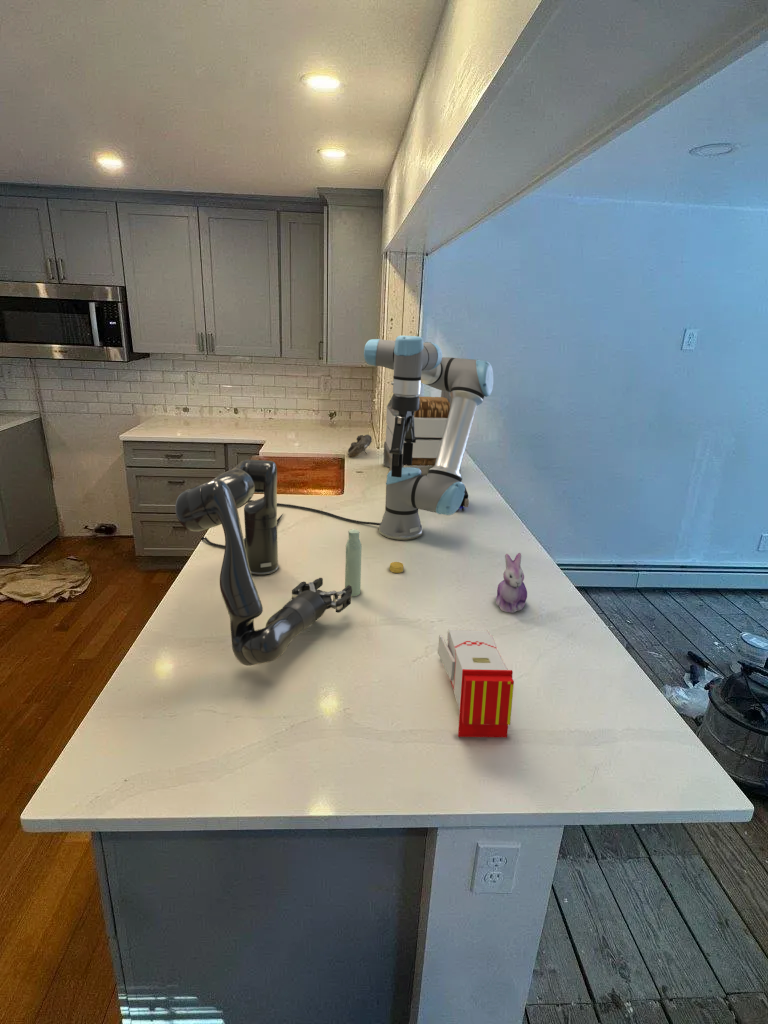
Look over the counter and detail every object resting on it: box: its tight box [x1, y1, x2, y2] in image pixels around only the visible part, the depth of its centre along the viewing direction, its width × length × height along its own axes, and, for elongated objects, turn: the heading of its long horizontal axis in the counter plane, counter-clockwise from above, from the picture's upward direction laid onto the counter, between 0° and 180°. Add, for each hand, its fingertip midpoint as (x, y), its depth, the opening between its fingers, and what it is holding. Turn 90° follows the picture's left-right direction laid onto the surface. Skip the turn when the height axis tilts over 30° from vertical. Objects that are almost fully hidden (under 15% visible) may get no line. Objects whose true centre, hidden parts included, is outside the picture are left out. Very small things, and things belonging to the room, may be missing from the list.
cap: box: [389, 561, 404, 574], centre depth 172 cm, size 4×4×2 cm
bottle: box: [344, 528, 363, 597], centre depth 154 cm, size 4×4×18 cm
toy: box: [437, 628, 515, 738], centre depth 117 cm, size 12×13×30 cm
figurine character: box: [458, 486, 470, 512], centre depth 229 cm, size 7×8×15 cm
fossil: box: [347, 434, 373, 459], centre depth 304 cm, size 22×10×15 cm
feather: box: [277, 513, 284, 525], centre depth 210 cm, size 2×28×2 cm
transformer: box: [383, 390, 462, 475], centre depth 268 cm, size 34×33×41 cm
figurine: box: [495, 552, 528, 614], centre depth 152 cm, size 9×10×15 cm
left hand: (335, 584), depth 147 cm, fingers open, 8 cm apart
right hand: (401, 470), depth 161 cm, fingers open, 13 cm apart
